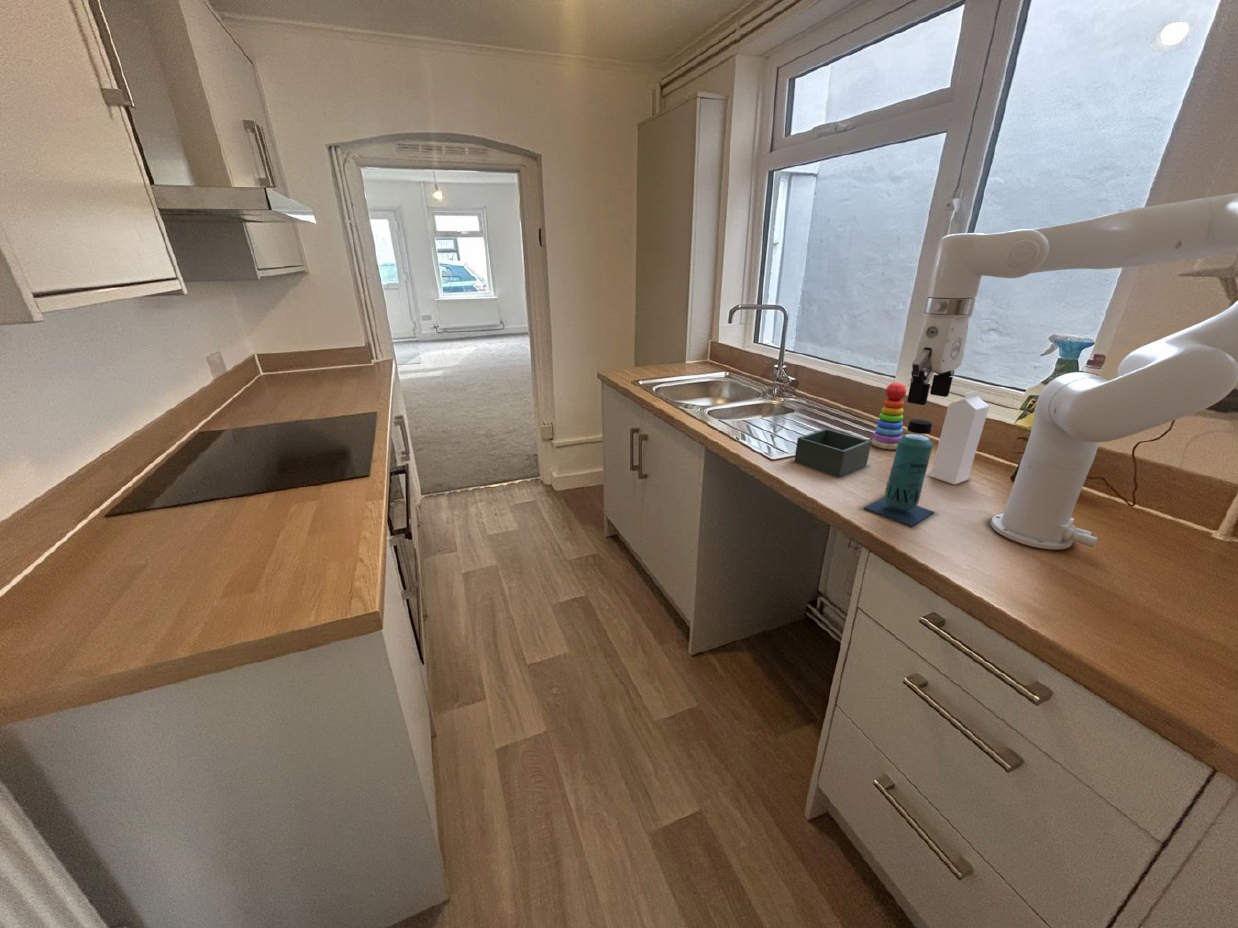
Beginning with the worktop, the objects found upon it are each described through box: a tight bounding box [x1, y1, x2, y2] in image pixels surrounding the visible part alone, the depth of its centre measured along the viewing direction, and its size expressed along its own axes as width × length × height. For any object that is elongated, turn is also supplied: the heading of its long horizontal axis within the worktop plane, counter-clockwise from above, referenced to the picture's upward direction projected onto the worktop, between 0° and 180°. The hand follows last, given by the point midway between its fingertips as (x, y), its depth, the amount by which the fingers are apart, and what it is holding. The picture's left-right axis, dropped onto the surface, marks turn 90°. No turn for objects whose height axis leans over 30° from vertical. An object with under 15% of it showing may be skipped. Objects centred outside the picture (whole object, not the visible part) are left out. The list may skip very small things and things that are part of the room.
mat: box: [863, 496, 935, 528], centre depth 104 cm, size 10×10×1 cm
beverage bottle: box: [884, 418, 934, 510], centre depth 100 cm, size 6×7×20 cm
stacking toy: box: [871, 382, 907, 451], centre depth 138 cm, size 8×8×19 cm
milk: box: [929, 389, 990, 485], centre depth 116 cm, size 6×6×22 cm
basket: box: [793, 428, 872, 478], centre depth 128 cm, size 13×13×7 cm
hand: (927, 399), depth 94 cm, fingers open, 9 cm apart
